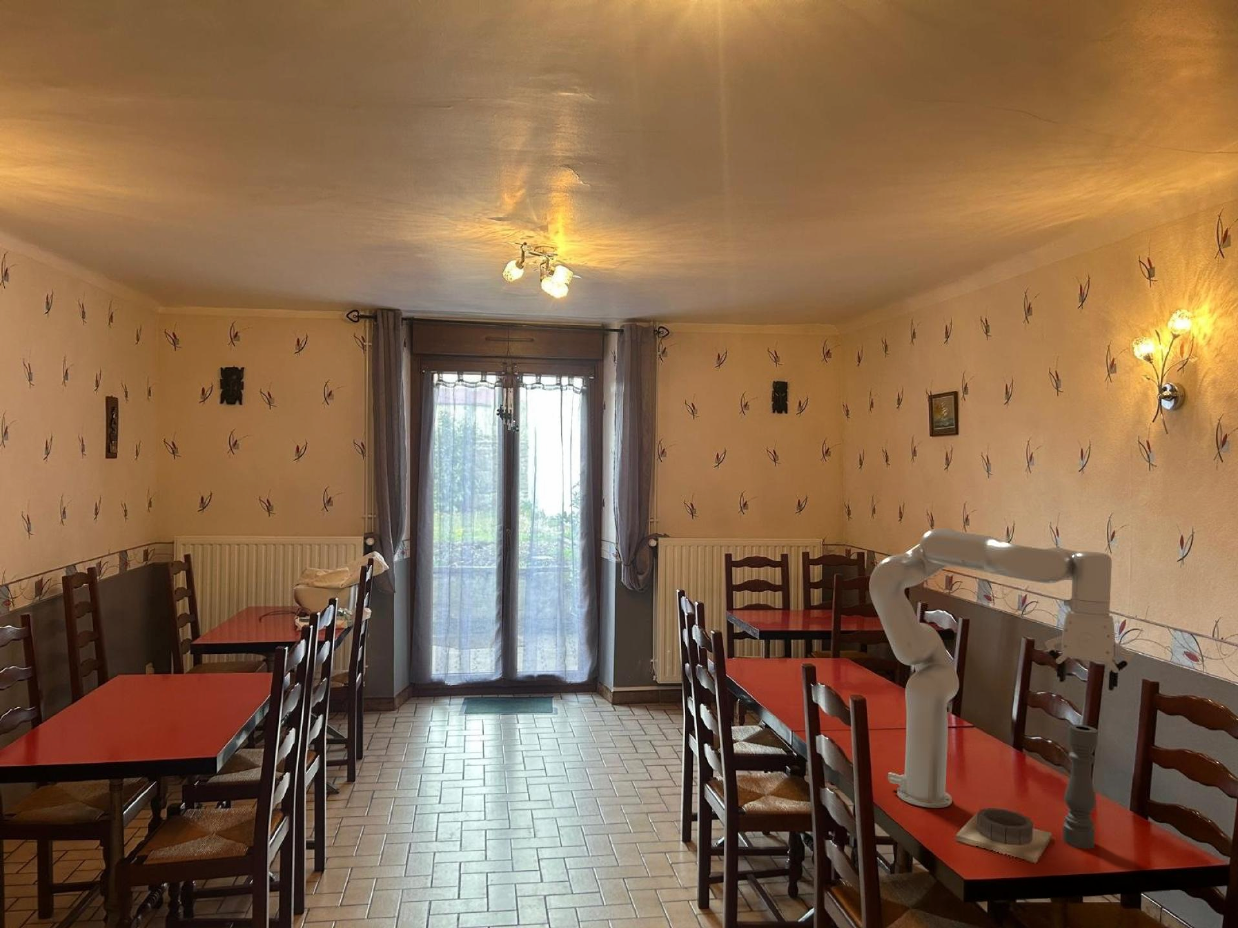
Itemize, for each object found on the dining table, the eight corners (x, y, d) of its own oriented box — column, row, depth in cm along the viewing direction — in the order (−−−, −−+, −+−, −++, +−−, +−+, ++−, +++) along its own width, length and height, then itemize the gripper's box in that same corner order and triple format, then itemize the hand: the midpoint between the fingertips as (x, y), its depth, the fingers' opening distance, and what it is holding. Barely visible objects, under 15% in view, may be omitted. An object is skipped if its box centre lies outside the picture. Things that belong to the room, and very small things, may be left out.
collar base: (955, 840, 187) (956, 818, 187) (975, 818, 200) (976, 797, 200) (1036, 863, 178) (1037, 840, 178) (1051, 838, 191) (1052, 817, 191)
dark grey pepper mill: (1066, 833, 194) (1070, 722, 194) (1097, 842, 190) (1101, 728, 190) (1059, 842, 189) (1064, 727, 189) (1091, 851, 185) (1096, 734, 185)
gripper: (1043, 604, 193) (1040, 680, 193) (1133, 615, 183) (1129, 696, 183) (1050, 601, 199) (1047, 675, 199) (1137, 611, 189) (1133, 689, 189)
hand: (1086, 685), depth 191 cm, fingers open, 9 cm apart
